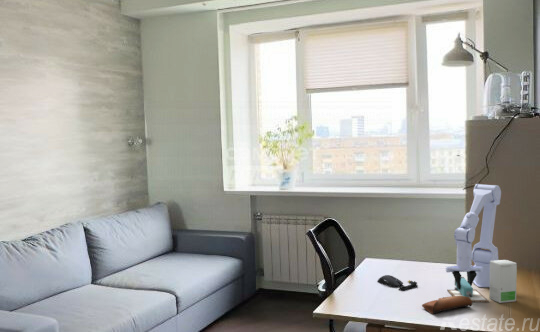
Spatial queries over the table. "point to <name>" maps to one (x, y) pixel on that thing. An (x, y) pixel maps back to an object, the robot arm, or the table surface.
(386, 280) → the computer mouse
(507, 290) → the skincare box
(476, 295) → the clipboard
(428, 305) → the sunglasses case
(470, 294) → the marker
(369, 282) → the table surface
